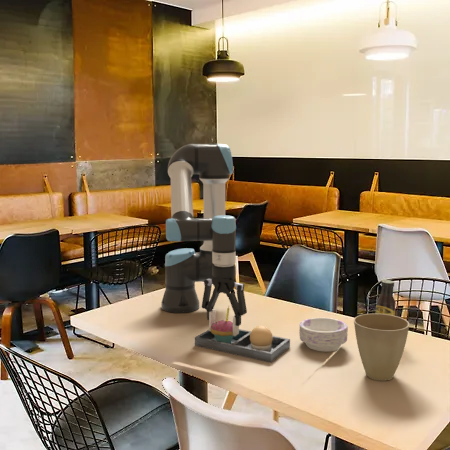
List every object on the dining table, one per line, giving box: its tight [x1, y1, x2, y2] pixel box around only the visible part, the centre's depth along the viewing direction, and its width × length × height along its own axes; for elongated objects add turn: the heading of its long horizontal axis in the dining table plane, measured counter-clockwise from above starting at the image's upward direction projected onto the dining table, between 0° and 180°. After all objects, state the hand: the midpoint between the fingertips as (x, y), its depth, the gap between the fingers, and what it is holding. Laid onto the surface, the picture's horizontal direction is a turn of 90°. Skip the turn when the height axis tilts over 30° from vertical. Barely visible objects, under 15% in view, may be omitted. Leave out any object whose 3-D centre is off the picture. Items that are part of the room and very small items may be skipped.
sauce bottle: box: [375, 279, 397, 316], centre depth 180 cm, size 7×6×20 cm
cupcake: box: [211, 305, 233, 344], centre depth 175 cm, size 9×8×12 cm
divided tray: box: [194, 328, 291, 364], centre depth 172 cm, size 27×14×4 cm, turn 60°
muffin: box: [250, 325, 274, 352], centre depth 169 cm, size 7×7×8 cm
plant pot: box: [353, 313, 410, 381], centre depth 152 cm, size 15×15×16 cm
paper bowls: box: [299, 317, 349, 352], centre depth 173 cm, size 15×15×8 cm
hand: (223, 332), depth 175 cm, fingers closed on cupcake, 8 cm apart
